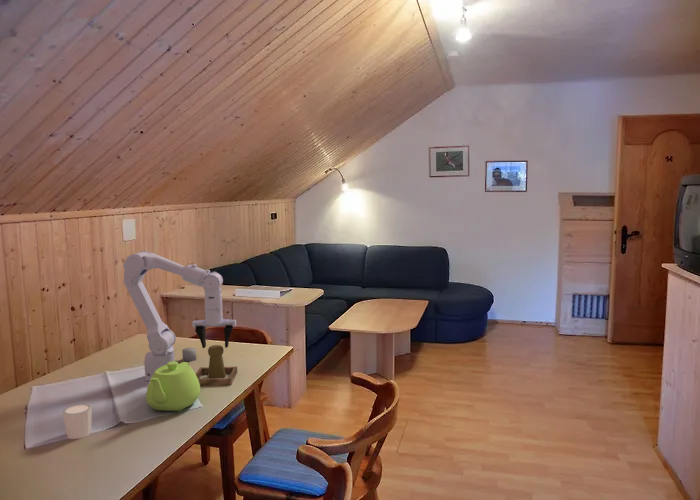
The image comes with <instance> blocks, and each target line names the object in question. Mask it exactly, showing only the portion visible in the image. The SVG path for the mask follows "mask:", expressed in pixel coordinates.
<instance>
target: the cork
mask: <svg viewBox="0 0 700 500" xmlns="http://www.w3.org/2000/svg"><path fill="white" fill-rule="evenodd" d="M207 353H208V354H207V355H208V356H209V361H208V363H209V364H208V367H209V371H208V374H207V379H208V378H227V375H226V374H227V373H225V368H224V367H225V364H224V358H223V354H224V347H223V346H222V345H220V344H214V345H211V346H209V347H208V349H207Z"/></svg>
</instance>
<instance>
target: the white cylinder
mask: <svg viewBox="0 0 700 500" xmlns="http://www.w3.org/2000/svg"><path fill="white" fill-rule="evenodd" d="M92 408H93V406H92V405H90V404H88V403H80V404H75V405H72V406H68V407H66V408H65V409H63V411H62V416H63V422H64V426H65V431H66V432H65V433H66V437H67V438H68V439H69V440H78V439H83V438H85V437H87V436H89V435H90V434H91V433H92V414H93V413H92V410H93V409H92Z"/></svg>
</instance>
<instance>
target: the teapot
mask: <svg viewBox="0 0 700 500" xmlns="http://www.w3.org/2000/svg"><path fill="white" fill-rule="evenodd" d="M148 382H149V383H148V384H147V388H146V395H145V401H146V403H147V404H148V405H149V406H150V408H152V409H153V410H156V411H166V412H169V411H175V412H182V411H183V410H184V409H185V408H187V407H189V406H191V405H192V404H194V403H195V402H196V401H197V400H198V398H199V396H200V394H201V386H200V384H199V380H198V378H197V376H196V372H195V371H194V369H193V368H192V367H191V365H190V364H189V362H184V361H182V362H180V363H179V362H178V361H176V360H175V361H172V362H168V363H167V365H164V366H162V367H160V368H158V369H157V370H156V371H155V372H154V374H153V376H152V378H151V379H150V381H148Z"/></svg>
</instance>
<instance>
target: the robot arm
mask: <svg viewBox="0 0 700 500" xmlns="http://www.w3.org/2000/svg"><path fill="white" fill-rule="evenodd" d="M122 267H123V270H124V271H123V284H124V286H125V288H126V290H127V292H128V294H129V295H130V298H131V300H132V302H133V304H134V306H135V308H136V310H137V312H138V313H139V316H140V317H141V320H142V322H143V324H144V326H145V327H146V330H147V331H146V339H147V341H148V349H149V352H146V353H145V355H144V363H143V364H144V382H150V379H151V378H152V376H153V374H154V372H155V371H156V370H157V369H158V368H160V367H162V366H164V365H167V363H168V362H172V361H175V362H176V360H175V349H174V344H175V343H176V341H177V338H176V334H175V333H174V331H172V330H171V329H170V328H169V325H167V324H166V323H164V322H163V320H162V318H161V317H160V315H159V312H158V311H157V308H156V307H155V304H154V303H153V300H152V299H151V296H150V295H149V293H148V291H147V289H146V286H145V285H144V282H143V280H144V278H145V276H146V274H147V272H148V271H149V270H153V269H160V270H162V271H163V270H164V271H167V272H170V273H173V274H176V275H179V276H180V277H181V279H182V280H183V281H184V282H187V283H190V284H193V285H195V286H198V287H201V288H202V289H203V290H204V310H205V311H204V312H205V313H204V315H205V319H199V320H198V319H197V320H193V321H192V323H191V325H192V327H191V328H195V329H194V331H195V333H196V335H197V336H198V338H199V341H200V343H201V348H202V349H205V348H206V347H207V342H206V341H207V340H206V339H207V338H206V328H207V327H216V328H217V327H224V328H223V331H224V348H225V349H227V348H228V347H229V341H230V338H231V334H232V332H233V329H234V328H235V327H237V319H226V318H224V317H223V316H224V315H223V314H224V313H223V312H224V311H223V310H224V309H223V294H222V287H221V286H222V285H223V282H224V279H223V276H222V275H221V274H220V273H218V272H217V271H211V270H210V269H204V268H201V267H198V265H197V264H195V263H193V264H187V265H185V266H184V265H182V264H181V263H178V262H176V261H174V260H170V259H169V258H166V257H163V256H161V255H159V254H157V253H154V252H150V251H146V250H141V251H139V252H137V253H133V254H132V253H131V254H130V255H128V256H127V257H126V259H125V261H124V262H123V265H122Z"/></svg>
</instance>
